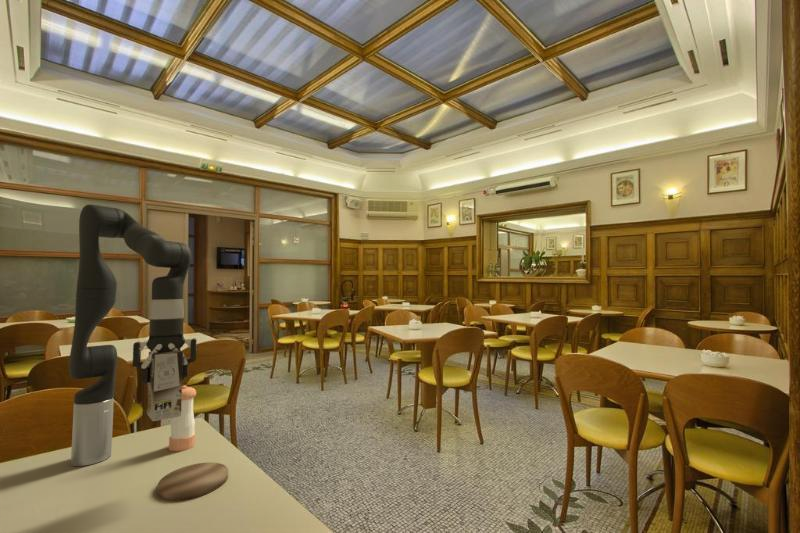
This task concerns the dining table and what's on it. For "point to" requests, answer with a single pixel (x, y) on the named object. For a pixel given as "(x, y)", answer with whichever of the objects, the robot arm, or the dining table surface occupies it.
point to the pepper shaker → (183, 423)
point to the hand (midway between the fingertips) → (165, 381)
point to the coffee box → (165, 385)
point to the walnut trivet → (192, 481)
